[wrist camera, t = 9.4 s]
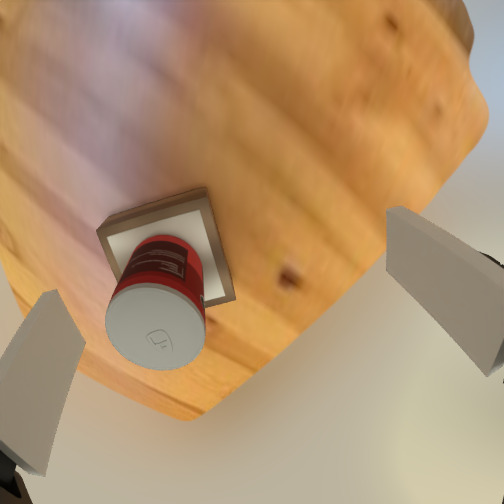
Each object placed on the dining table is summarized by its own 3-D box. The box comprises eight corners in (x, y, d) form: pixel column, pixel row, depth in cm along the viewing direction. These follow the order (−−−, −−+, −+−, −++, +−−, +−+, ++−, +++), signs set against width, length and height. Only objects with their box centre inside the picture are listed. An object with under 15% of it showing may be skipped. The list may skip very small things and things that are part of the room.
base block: (108, 216, 33) (95, 231, 29) (206, 186, 34) (206, 197, 29) (143, 301, 38) (137, 325, 34) (231, 278, 39) (236, 300, 34)
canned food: (166, 312, 33) (158, 384, 23) (115, 262, 30) (84, 324, 20) (219, 273, 32) (228, 339, 22) (168, 216, 29) (151, 266, 19)
